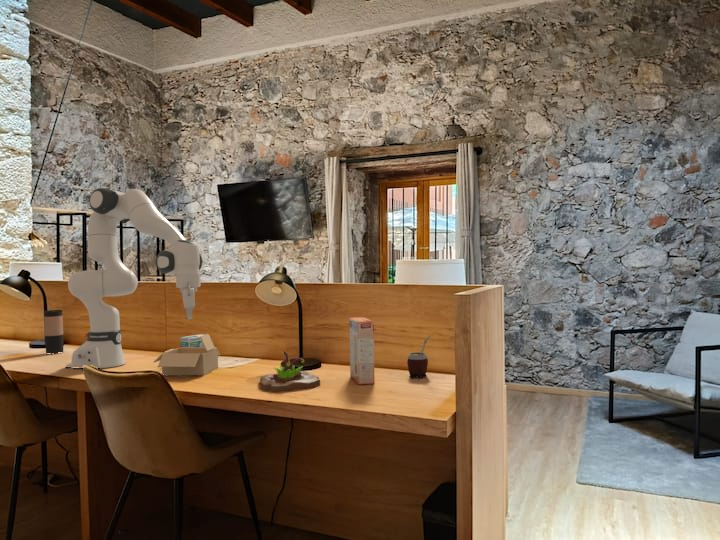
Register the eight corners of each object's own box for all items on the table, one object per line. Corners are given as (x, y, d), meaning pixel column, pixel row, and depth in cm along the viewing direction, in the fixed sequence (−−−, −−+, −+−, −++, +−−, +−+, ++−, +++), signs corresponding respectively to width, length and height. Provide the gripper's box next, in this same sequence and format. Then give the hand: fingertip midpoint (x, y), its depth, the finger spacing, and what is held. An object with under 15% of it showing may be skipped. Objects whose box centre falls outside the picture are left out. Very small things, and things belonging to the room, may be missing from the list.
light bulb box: (190, 364, 226) (189, 338, 225) (180, 363, 230) (179, 337, 229) (211, 360, 234) (211, 334, 234) (201, 359, 238) (200, 333, 238)
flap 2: (206, 351, 206) (199, 336, 207) (214, 348, 213) (207, 334, 214) (207, 350, 206) (200, 336, 207) (215, 347, 213) (208, 333, 213)
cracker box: (375, 384, 184) (374, 320, 183) (357, 385, 182) (356, 321, 182) (366, 375, 197) (365, 316, 197) (350, 376, 196) (348, 317, 196)
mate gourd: (404, 375, 196) (403, 332, 195) (426, 373, 198) (425, 331, 197) (412, 380, 189) (411, 335, 188) (434, 378, 191) (433, 334, 190)
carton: (149, 375, 206) (148, 353, 206) (173, 365, 225) (172, 344, 225) (203, 375, 203) (202, 353, 203) (223, 365, 222) (222, 344, 222)
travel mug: (42, 353, 262) (41, 311, 262) (59, 351, 268) (58, 309, 268) (49, 355, 257) (47, 311, 257) (66, 352, 263) (65, 310, 263)
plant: (307, 376, 200) (307, 345, 200) (326, 387, 182) (325, 353, 182) (252, 382, 192) (251, 350, 192) (266, 395, 174) (265, 359, 174)
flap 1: (163, 354, 205) (157, 367, 201) (163, 353, 205) (157, 366, 200) (200, 354, 203) (194, 367, 199) (199, 353, 203) (194, 366, 198)
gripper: (198, 283, 202) (199, 321, 202) (196, 281, 221) (197, 316, 221) (179, 283, 200) (181, 322, 200) (179, 282, 219) (180, 317, 219)
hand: (189, 319), depth 211 cm, fingers closed
